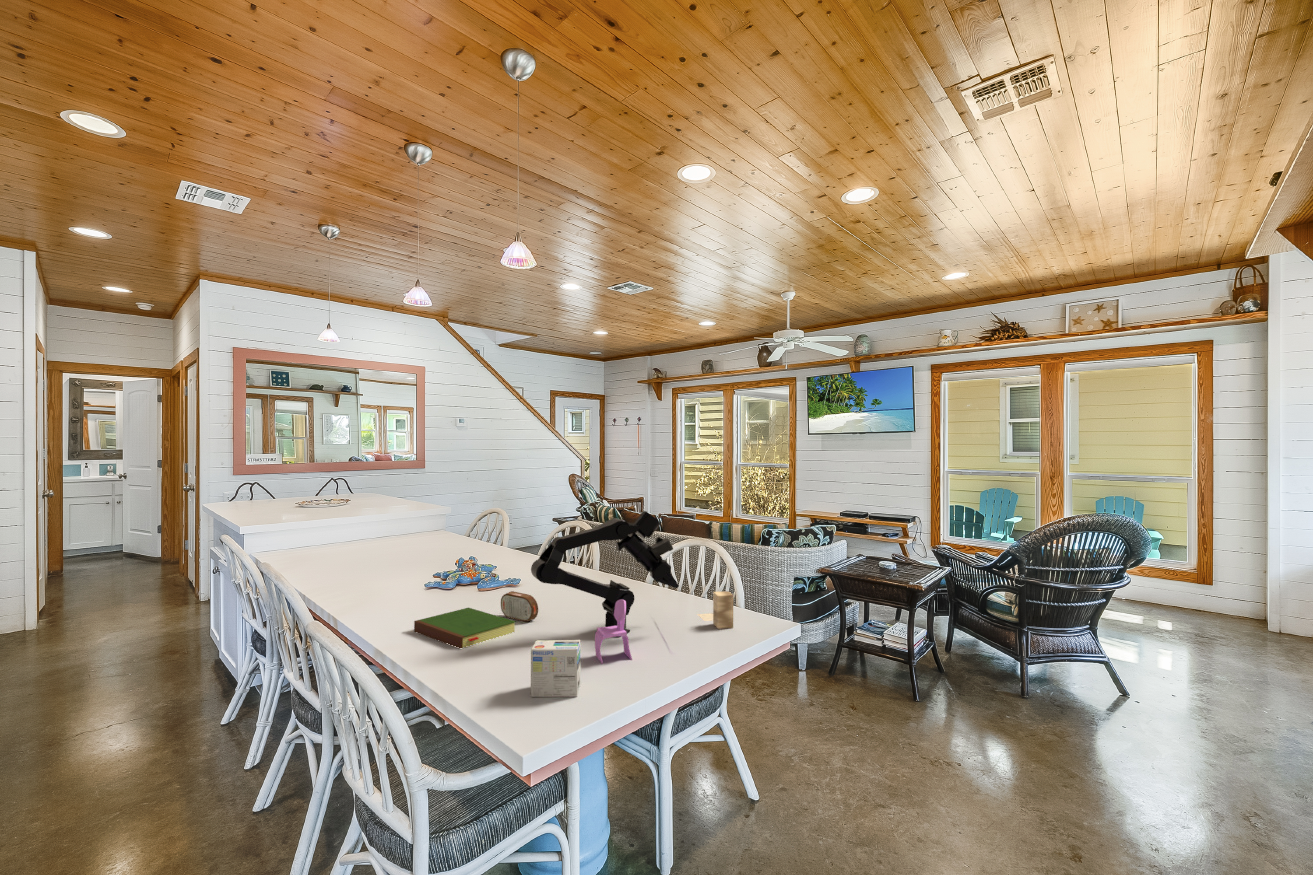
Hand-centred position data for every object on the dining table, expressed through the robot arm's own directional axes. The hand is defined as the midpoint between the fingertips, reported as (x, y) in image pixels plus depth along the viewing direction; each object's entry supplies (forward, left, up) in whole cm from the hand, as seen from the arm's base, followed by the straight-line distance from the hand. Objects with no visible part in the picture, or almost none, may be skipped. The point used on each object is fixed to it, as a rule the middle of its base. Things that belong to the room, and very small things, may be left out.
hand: (674, 583), depth 175 cm
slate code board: (+12, -9, -14) cm, 20 cm away
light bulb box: (-54, +1, -14) cm, 56 cm away
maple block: (+8, -13, -13) cm, 20 cm away
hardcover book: (-36, +52, -15) cm, 65 cm away
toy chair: (-30, +2, -14) cm, 34 cm away
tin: (-18, +48, -14) cm, 53 cm away
